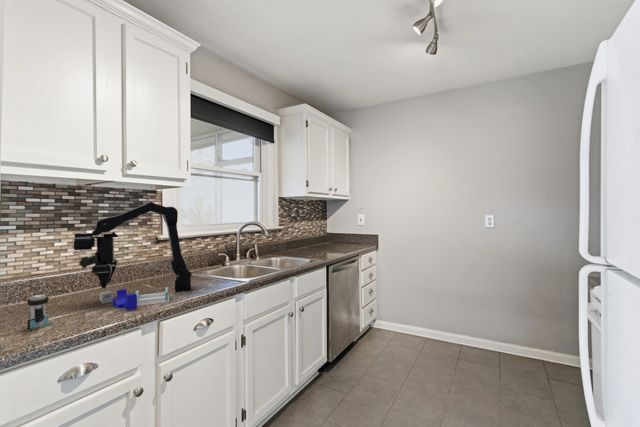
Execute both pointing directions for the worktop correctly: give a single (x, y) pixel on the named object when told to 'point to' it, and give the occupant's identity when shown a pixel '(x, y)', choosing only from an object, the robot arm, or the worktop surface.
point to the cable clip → (125, 300)
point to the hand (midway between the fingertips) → (105, 285)
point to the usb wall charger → (106, 297)
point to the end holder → (152, 298)
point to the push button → (37, 311)
